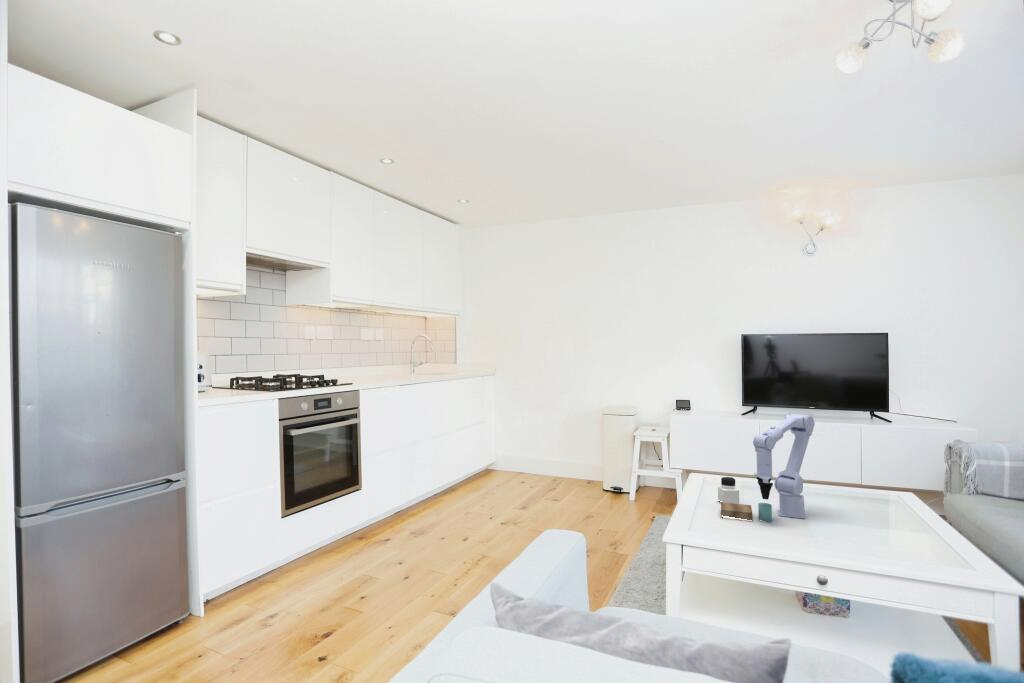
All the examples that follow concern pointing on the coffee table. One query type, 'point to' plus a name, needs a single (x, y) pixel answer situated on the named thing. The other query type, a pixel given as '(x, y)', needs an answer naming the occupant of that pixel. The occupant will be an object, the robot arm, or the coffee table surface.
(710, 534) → the coffee table surface
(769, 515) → the teal tin
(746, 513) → the walnut block
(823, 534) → the coffee table surface
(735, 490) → the medicine bottle
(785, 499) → the robot arm
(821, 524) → the coffee table surface
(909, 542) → the coffee table surface
